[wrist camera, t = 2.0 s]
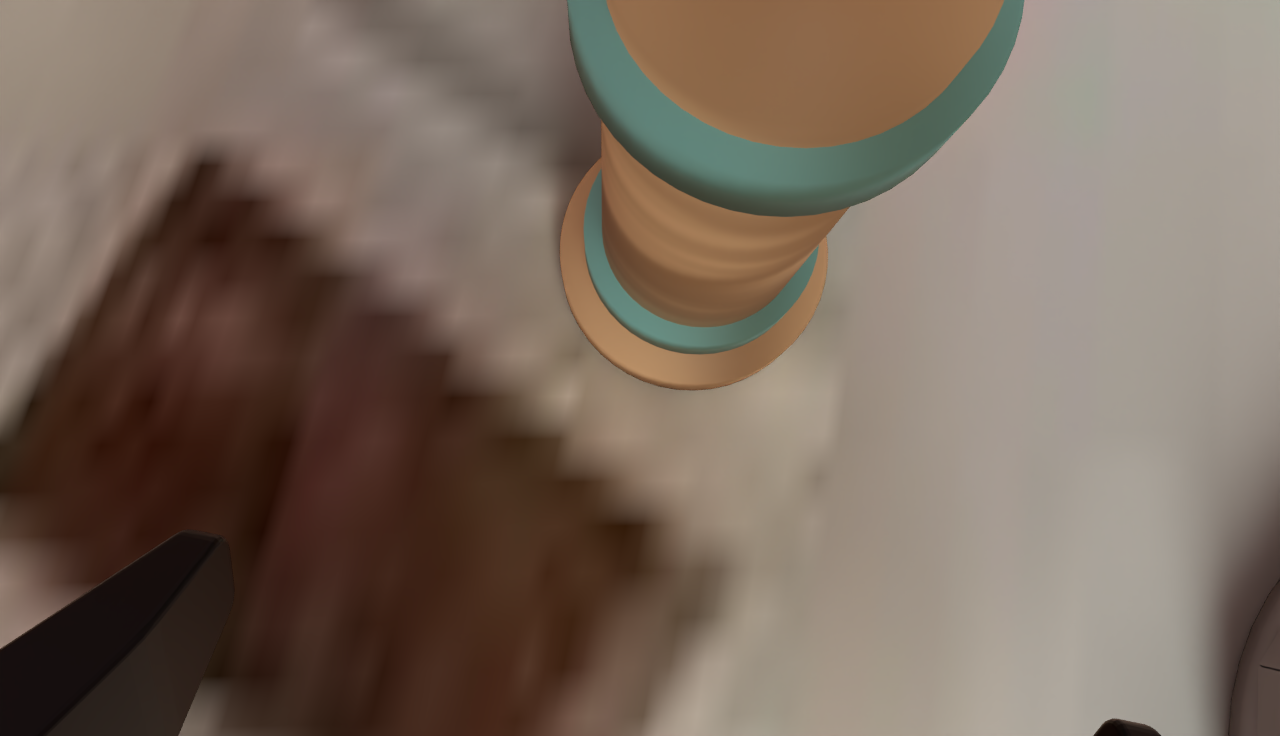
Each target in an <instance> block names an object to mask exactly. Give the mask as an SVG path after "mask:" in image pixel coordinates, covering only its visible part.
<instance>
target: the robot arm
mask: <svg viewBox="0 0 1280 736" xmlns="http://www.w3.org/2000/svg"><path fill="white" fill-rule="evenodd" d="M234 592H235V589H234V579H233V572H232V564H231V556H230V548H229V544H228V541H227V540H226V539H225V538H224V537H223V536H221V535H217V534H212V533H207V532H202V531H197V530H184V531H181V532H178V533H177V534H175V535H173V536H172V537H170V538H169V539H167V540H166V541H164V542H163V543H161V544H160V545H158V546H157V547H155V548H154V549H152V550H151V551H149V552H147V553H146V554H144V555H143V556H141V557H140V558H138V559H137V560H135V561H134V562H132V563H131V564H129V565H128V566H126V567H125V568H123V569H122V570H120V571H118V572H117V573H115V574H114V575H112V576H111V577H109V578H108V579H106V580H105V581H103V582H102V583H100V584H99V585H97V586H96V587H94V588H93V589H91V590H89V591H88V592H86V593H85V594H83V595H82V596H80V597H79V598H77V599H76V600H74V601H73V602H71V603H70V604H68V605H67V606H65V607H64V608H62V609H61V610H59V611H57V612H56V613H54V614H53V615H51V616H50V617H48V618H47V619H45V620H44V621H42V622H41V623H39V624H38V625H36V626H35V627H33V628H32V629H30V630H28V631H27V632H25V633H24V634H22V635H21V636H19V637H18V638H16V639H15V640H13V641H12V642H10V643H9V644H7V645H6V646H4V647H3V648H1V649H0V736H178V734H179V732H180V730H181V728H182V725H183V723H184V720H185V718H186V716H187V713H188V711H189V709H190V706H191V704H192V701H193V699H194V697H195V694H196V692H197V690H198V687H199V685H200V682H201V680H202V678H203V675H204V673H205V671H206V668H207V666H208V663H209V661H210V659H211V656H212V654H213V652H214V649H215V647H216V644H217V642H218V640H219V637H220V635H221V633H222V630H223V628H224V625H225V623H226V621H227V618H228V616H229V613H230V611H231V608H232V604H233V600H234ZM1093 736H1161V735H1160V734H1159V733H1158V732H1157V731H1156V730H1154V729H1153V728H1152V727H1150V726H1147V725H1145V724H1140V723H1136V722H1131V721H1126V720H1121V719H1110V720H1108V721H1106V722H1104V723H1103V724H1102V725H1101V727H1100V728H1099V729H1098V730H1097V732H1096V733H1095V734H1094V735H1093Z"/></svg>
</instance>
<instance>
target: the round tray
mask: <svg viewBox="0 0 1280 736" xmlns="http://www.w3.org/2000/svg"><path fill="white" fill-rule="evenodd" d="M1229 736H1280V580H1279V582H1278V583H1277V584H1276V586H1275V587H1274V589H1273V590H1272V591H1271V593H1270V594H1269V596H1268V597H1267V599H1266V601H1265V603H1264V605H1263V607H1262V609H1261V611H1260V613H1259V615H1258V617H1257V619H1256V621H1255V623H1254V625H1253V626H1252V629H1251V631H1250V634H1249V637H1248V640H1247V643H1246V646H1245V648H1244V651H1243V654H1242V657H1241V660H1240V663H1239V667H1238V672H1237V677H1236V681H1235V686H1234V691H1233V696H1232V702H1231V714H1230V727H1229Z"/></svg>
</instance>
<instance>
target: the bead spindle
mask: <svg viewBox="0 0 1280 736" xmlns="http://www.w3.org/2000/svg"><path fill="white" fill-rule="evenodd" d="M567 4H568V17H569V30H570V41H571V46H572V50H573V55H574V60H575V64H576V68H577V70H578V73H579V76H580V78H581V81H582V84H583V87H584V89H585V92H586V94H587V95H588V97H589V99H590V101H591V103H592V105H593V107H594V109H595V110H596V112H597V114H598V116H599V117H600V119H601V158H600V159H599V160H598V161H597V162H596V163H595V164H594V165H593V166H592V168H591V169H590V170H589V171H588V172H587V173H586V175H585V176H584V178H583V179H582V180H581V182H580V183H579V185H578V186H577V188H576V190H575V192H574V194H573V196H572V198H571V200H570V202H569V205H568V208H567V211H566V214H565V217H564V221H563V226H562V231H561V239H560V263H561V272H562V278H563V283H564V288H565V292H566V297H567V300H568V303H569V306H570V308H571V311H572V314H573V316H574V317H575V319H576V321H577V323H578V325H579V327H580V329H581V330H582V332H583V333H584V334H585V336H586V337H587V339H588V340H589V342H590V343H591V344H592V345H593V346H594V347H595V348H596V349H597V350H598V351H599V353H600V354H601V355H603V356H604V357H605V358H606V359H607V360H609V361H610V362H611V363H612V364H613V365H615V366H616V367H618V368H619V369H621V370H623V371H624V372H626V373H627V374H629V375H631V376H633V377H635V378H638V379H640V380H642V381H644V382H647V383H650V384H654V385H657V386H660V387H665V388H671V389H676V390H705V389H713V388H718V387H722V386H727V385H730V384H733V383H735V382H738V381H741V380H743V379H745V378H747V377H749V376H751V375H753V374H755V373H757V372H759V371H760V370H761V369H763V368H764V367H766V366H767V365H769V364H770V363H771V362H773V361H774V360H775V359H776V358H777V357H778V356H780V355H781V354H782V353H783V352H784V351H785V350H786V349H787V348H788V347H789V346H790V345H792V344H793V343H794V341H795V340H796V339H797V338H798V336H799V335H800V334H801V333H802V332H803V330H804V329H805V327H806V326H807V324H808V323H809V321H810V319H811V318H812V316H813V314H814V312H815V310H816V308H817V305H818V303H819V301H820V298H821V295H822V291H823V288H824V285H825V279H826V273H827V262H828V248H827V239H826V235H827V234H828V233H829V232H830V230H831V229H832V228H833V227H834V225H835V224H836V223H837V222H838V221H839V219H840V218H841V217H842V216H843V214H844V213H845V212H846V211H847V210H848V208H849V207H850V206H853V205H856V204H859V203H862V202H865V201H868V200H870V199H872V198H874V197H876V196H878V195H880V194H882V193H884V192H886V191H888V190H890V189H892V188H893V187H895V186H896V185H897V184H899V183H900V182H902V181H903V180H905V179H906V178H908V177H909V176H911V175H912V174H914V173H915V172H916V171H917V170H918V169H919V168H920V167H921V166H922V165H923V164H925V163H926V162H927V161H928V160H929V159H930V158H931V157H932V156H933V155H934V154H935V153H936V152H937V151H938V150H939V149H940V148H941V147H942V146H943V145H944V144H945V142H946V141H947V140H948V139H949V138H950V137H951V136H952V135H953V134H954V133H955V132H956V131H957V130H958V129H959V127H960V126H961V125H962V124H963V123H964V122H965V121H966V120H967V119H968V118H969V117H970V116H971V114H972V113H973V112H974V111H975V110H976V108H977V107H978V106H979V105H980V104H981V102H982V101H983V100H984V99H985V98H986V96H987V95H988V94H989V92H990V91H991V89H992V88H993V86H994V84H995V83H996V81H997V79H998V78H999V76H1000V75H1001V73H1002V71H1003V70H1004V67H1005V65H1006V63H1007V61H1008V58H1009V56H1010V54H1011V51H1012V49H1013V47H1014V44H1015V41H1016V37H1017V34H1018V30H1019V26H1020V23H1021V19H1022V14H1023V6H1024V0H567Z"/></svg>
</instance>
